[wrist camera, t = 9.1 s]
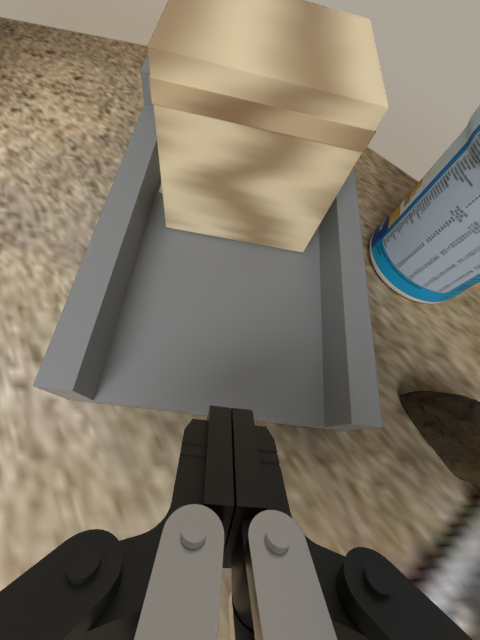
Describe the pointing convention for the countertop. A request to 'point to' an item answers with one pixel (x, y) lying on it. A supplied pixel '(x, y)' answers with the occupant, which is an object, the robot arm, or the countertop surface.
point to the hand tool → (449, 429)
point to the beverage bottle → (436, 228)
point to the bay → (215, 312)
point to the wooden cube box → (260, 114)
